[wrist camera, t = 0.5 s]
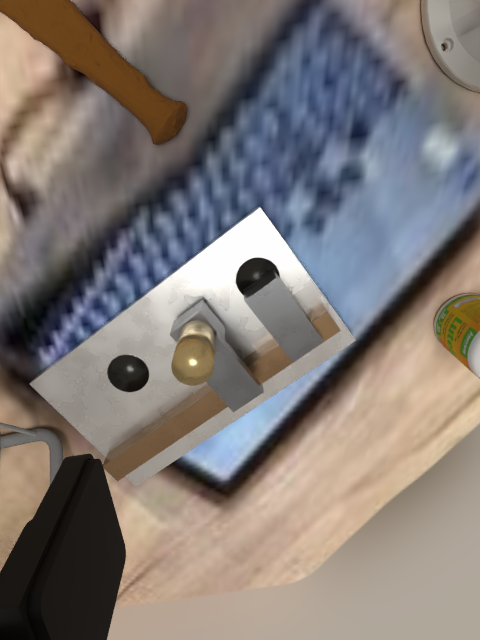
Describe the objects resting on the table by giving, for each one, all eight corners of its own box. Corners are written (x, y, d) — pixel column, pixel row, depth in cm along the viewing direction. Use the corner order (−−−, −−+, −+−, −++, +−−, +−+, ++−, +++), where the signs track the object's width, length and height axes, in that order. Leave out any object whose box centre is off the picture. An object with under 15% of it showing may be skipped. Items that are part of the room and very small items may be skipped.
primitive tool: (-66, -34, 31) (-101, -56, 28) (-28, -113, 30) (-60, -146, 27) (166, 152, 36) (160, 152, 32) (208, 91, 34) (206, 84, 31)
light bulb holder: (202, 298, 38) (195, 337, 30) (260, 368, 40) (268, 422, 32) (174, 319, 38) (160, 363, 30) (232, 387, 40) (233, 444, 33)
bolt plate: (258, 205, 37) (262, 212, 33) (351, 333, 41) (365, 355, 37) (35, 376, 42) (14, 401, 37) (138, 476, 46) (129, 509, 41)
